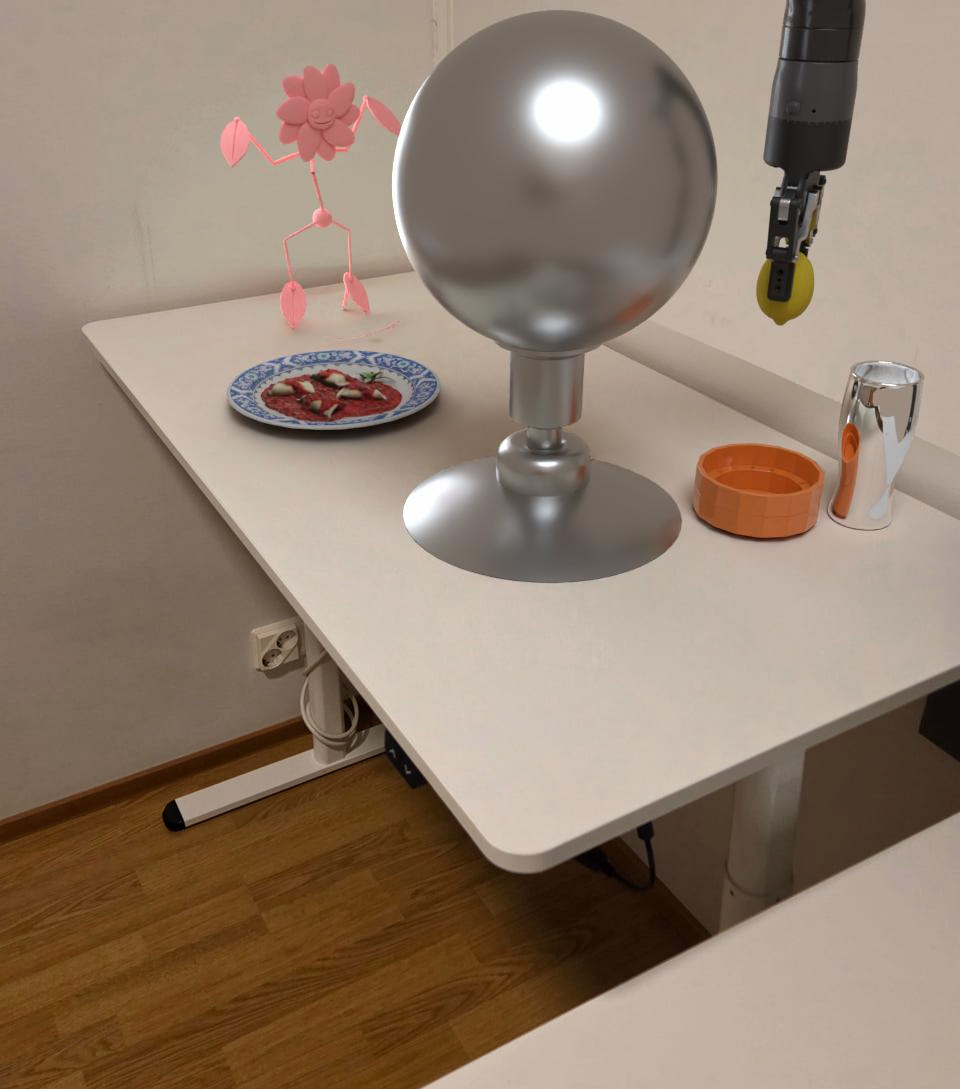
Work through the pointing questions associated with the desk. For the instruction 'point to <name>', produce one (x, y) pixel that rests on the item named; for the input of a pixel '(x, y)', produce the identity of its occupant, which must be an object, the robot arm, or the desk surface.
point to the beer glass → (874, 440)
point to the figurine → (313, 154)
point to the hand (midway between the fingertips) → (785, 291)
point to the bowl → (758, 490)
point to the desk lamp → (551, 271)
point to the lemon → (800, 292)
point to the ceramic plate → (333, 389)
